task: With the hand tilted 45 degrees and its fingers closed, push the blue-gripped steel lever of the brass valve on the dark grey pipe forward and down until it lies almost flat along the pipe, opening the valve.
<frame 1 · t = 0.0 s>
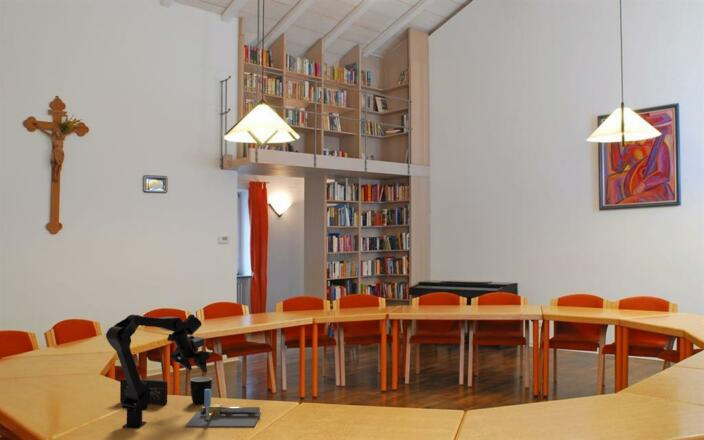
hand: (198, 371, 260), 15 cm above the table, tool tilted 35°, fingers open, 9 cm apart
valve pipe: (228, 413, 241), on the gray mounting plate, point 3 cm above the table
nameplate: (143, 404, 265), on the table
mug: (199, 404, 265), on the table
valve lever: (207, 405, 234), point 8 cm above the table, hinge at 0.0°
gray mounting plate: (213, 417, 245), on the table
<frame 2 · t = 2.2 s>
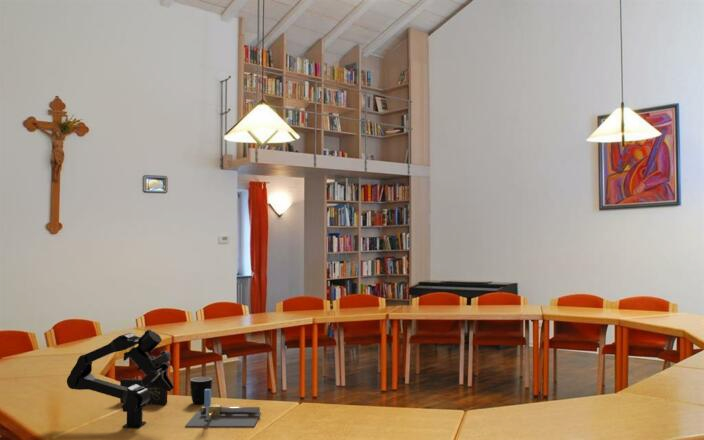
hand: (171, 389, 235), 14 cm above the table, tool tilted 45°, fingers open, 3 cm apart
nothing on the table moved.
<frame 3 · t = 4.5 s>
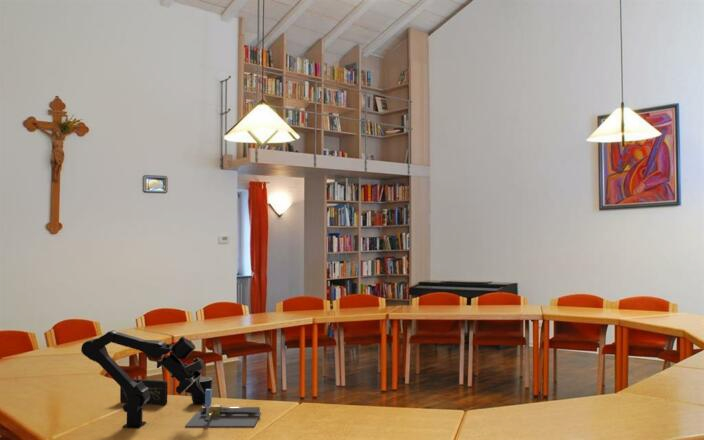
hand: (205, 396, 235), 11 cm above the table, tool tilted 45°, fingers closed, pressing on valve lever
valve lever: (208, 405, 234), point 8 cm above the table, hinge at 2.1°, touching gripper
everything else where it was.
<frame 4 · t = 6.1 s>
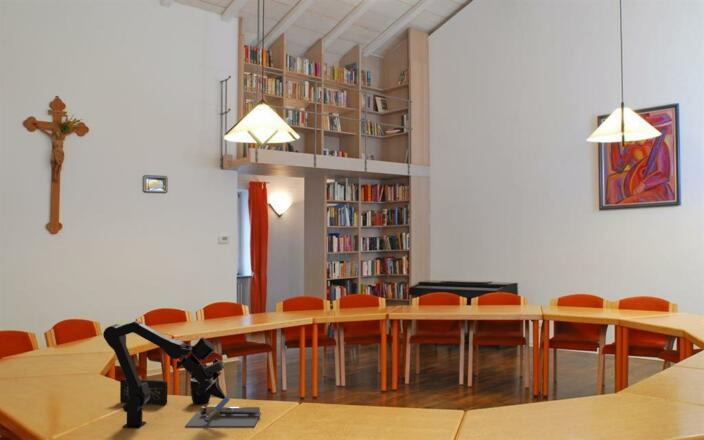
hand: (224, 398, 235), 10 cm above the table, tool tilted 45°, fingers closed, pressing on valve lever
valve lever: (216, 409, 234), point 6 cm above the table, hinge at 44.3°, touching gripper
everything else where it was.
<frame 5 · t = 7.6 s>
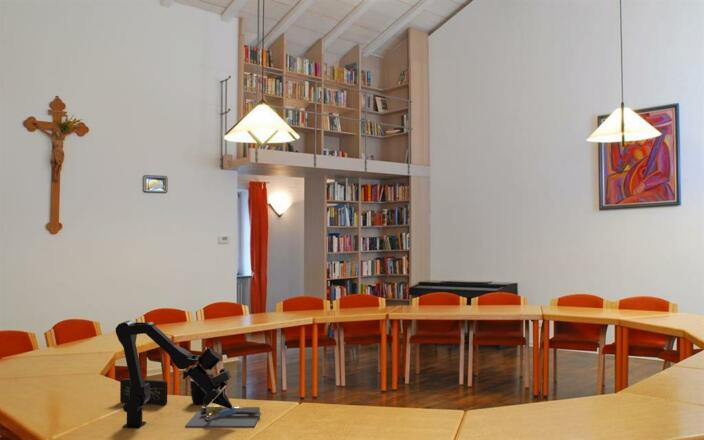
hand: (231, 407, 234), 7 cm above the table, tool tilted 45°, fingers closed, pressing on valve lever
valve lever: (220, 414, 234), point 4 cm above the table, hinge at 71.5°, touching gripper
everything else where it was.
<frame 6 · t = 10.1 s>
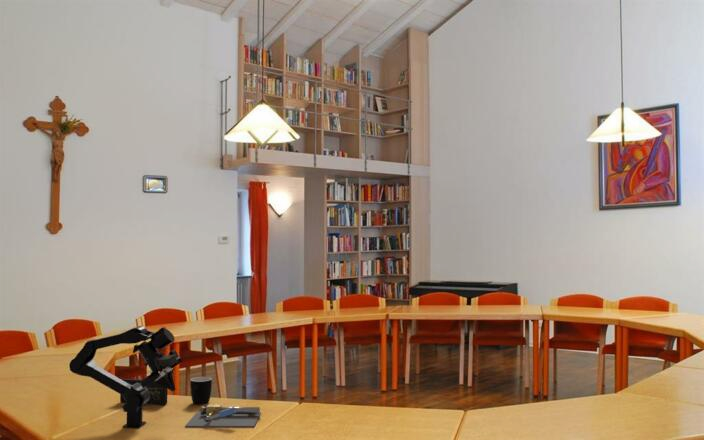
hand: (174, 390, 234), 13 cm above the table, tool tilted 35°, fingers closed
valve lever: (220, 414, 234), point 4 cm above the table, hinge at 71.6°
everything else where it was.
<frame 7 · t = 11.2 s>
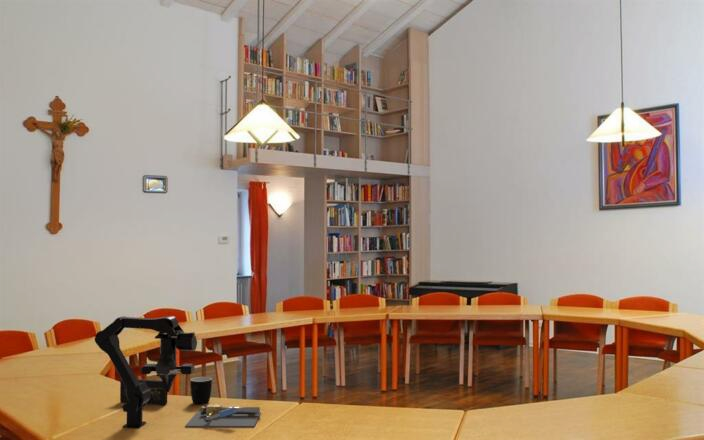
hand: (168, 391, 233), 13 cm above the table, tool pointing down, fingers closed
nothing on the table moved.
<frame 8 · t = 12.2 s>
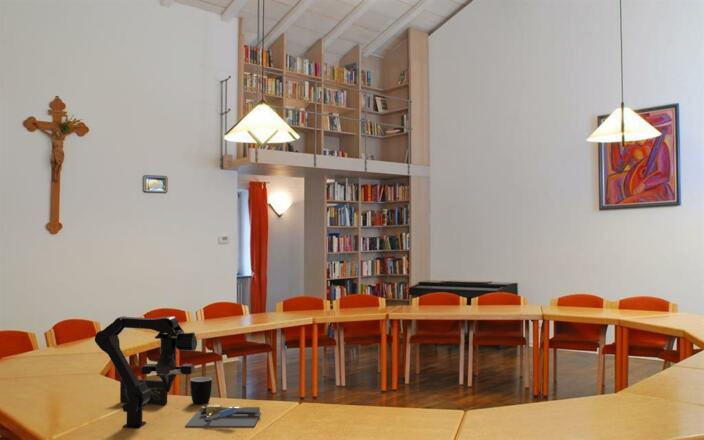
hand: (168, 391, 233), 13 cm above the table, tool pointing down, fingers closed
nothing on the table moved.
at the end: valve lever at +72° (first picture: +0°) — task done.
